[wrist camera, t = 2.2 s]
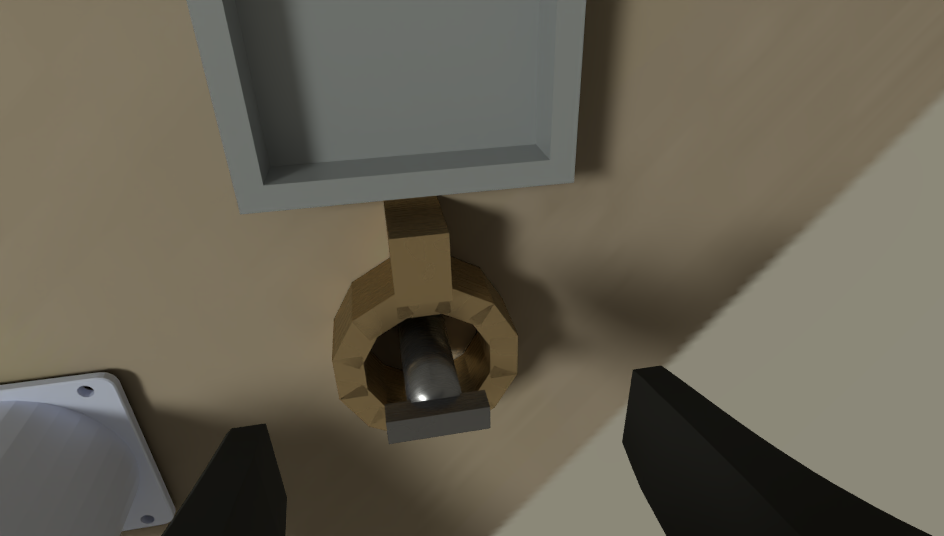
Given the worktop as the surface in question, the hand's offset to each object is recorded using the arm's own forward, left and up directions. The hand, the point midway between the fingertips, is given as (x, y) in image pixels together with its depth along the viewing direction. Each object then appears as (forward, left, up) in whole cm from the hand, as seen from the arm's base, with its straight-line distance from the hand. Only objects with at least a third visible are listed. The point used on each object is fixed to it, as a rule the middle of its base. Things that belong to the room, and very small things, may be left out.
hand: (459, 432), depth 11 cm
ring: (0, -3, -10) cm, 11 cm away
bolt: (0, -5, -10) cm, 11 cm away
